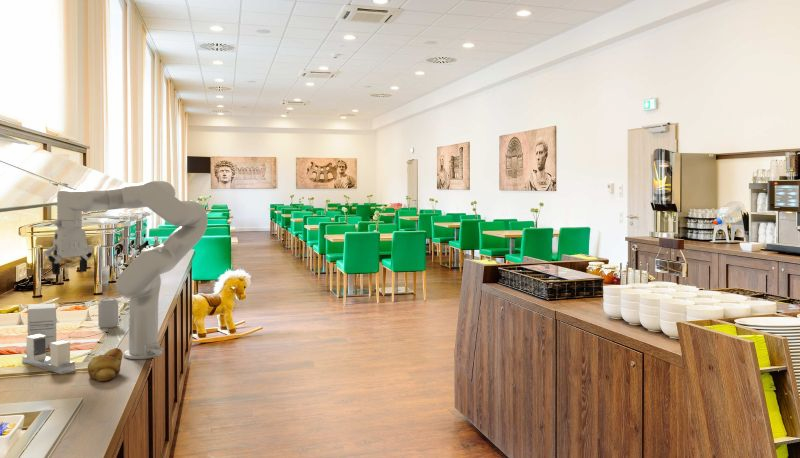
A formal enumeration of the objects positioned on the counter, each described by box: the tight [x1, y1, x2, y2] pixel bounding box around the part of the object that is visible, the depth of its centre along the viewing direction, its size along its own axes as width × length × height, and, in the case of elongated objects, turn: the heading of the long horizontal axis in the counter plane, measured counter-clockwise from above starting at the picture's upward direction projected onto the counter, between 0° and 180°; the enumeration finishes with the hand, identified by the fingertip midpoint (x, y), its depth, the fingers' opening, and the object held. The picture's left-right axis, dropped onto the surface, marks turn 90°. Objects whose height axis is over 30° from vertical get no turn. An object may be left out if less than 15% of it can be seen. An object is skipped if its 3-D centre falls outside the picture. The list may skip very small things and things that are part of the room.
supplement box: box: [27, 302, 57, 349], centre depth 214 cm, size 9×9×15 cm
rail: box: [22, 334, 76, 375], centre depth 191 cm, size 22×4×9 cm, turn 61°
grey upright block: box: [97, 297, 119, 330], centre depth 244 cm, size 8×8×12 cm
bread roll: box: [87, 347, 124, 382], centre depth 183 cm, size 13×10×8 cm
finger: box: [49, 339, 71, 366], centre depth 188 cm, size 5×4×7 cm
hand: (69, 272), depth 207 cm, fingers open, 9 cm apart
